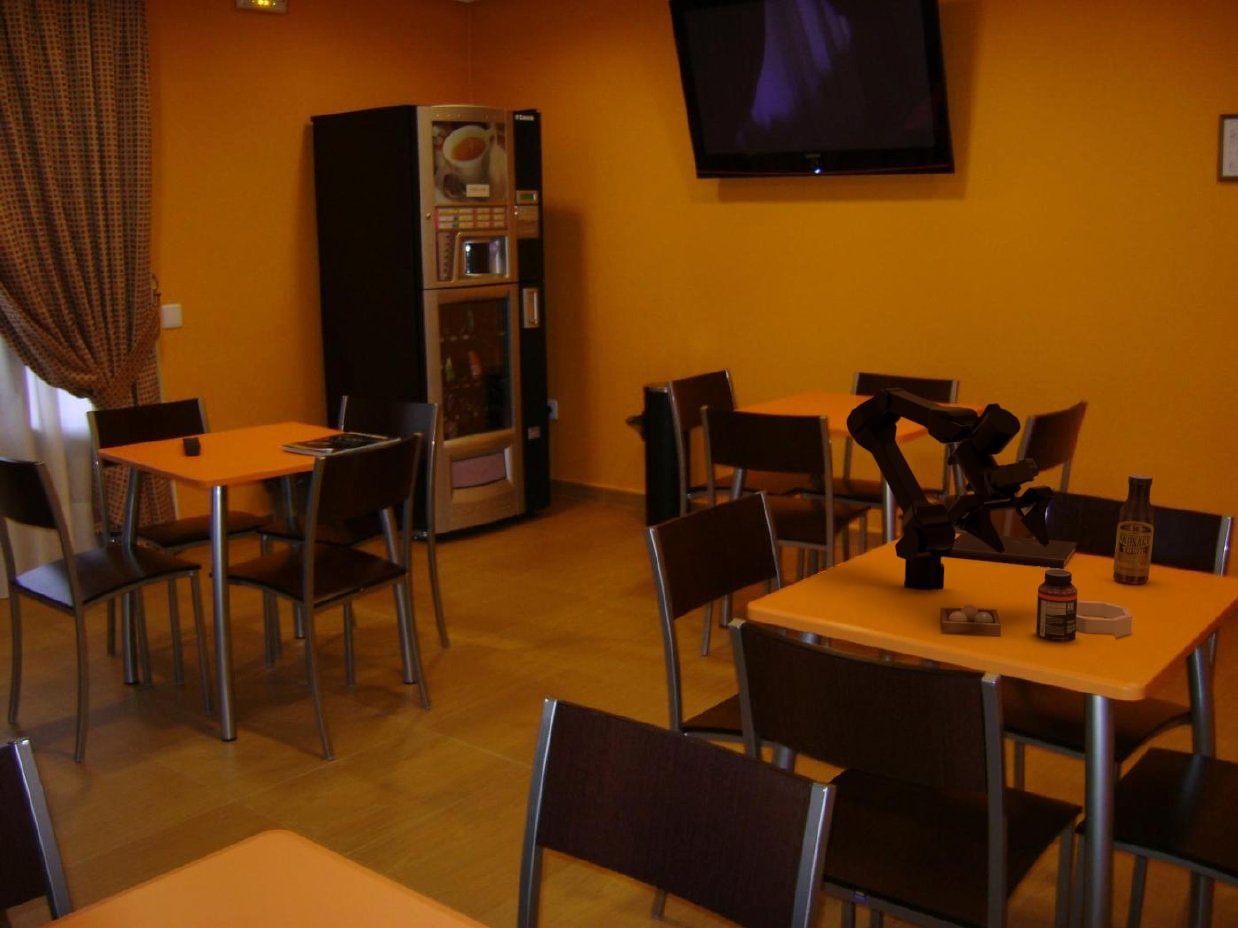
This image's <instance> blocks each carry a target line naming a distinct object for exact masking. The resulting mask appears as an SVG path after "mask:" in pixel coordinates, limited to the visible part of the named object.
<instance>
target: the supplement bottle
mask: <svg viewBox="0 0 1238 928" xmlns="http://www.w3.org/2000/svg"><path fill="white" fill-rule="evenodd" d="M1072 575H1073V573H1072V572H1071V571H1069V570H1066V569H1056V568H1049V569H1048V570H1045V572H1044V581H1043V582H1042V583H1041V584H1039V586H1038V588H1037V602H1036V603H1037V604H1036V605H1037V606H1036V607H1037V608H1036V628H1035V629H1036V632H1035V633H1036V637H1037V638H1039V639H1041V640H1044V641H1047V642H1053V643H1069V642H1072V641H1075V640H1076V633H1077V630H1076V616H1077V601H1078V588H1077V587H1076V586H1075V585H1074V584H1073V582H1072V580H1073V579H1072V577H1073V576H1072Z"/></svg>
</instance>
